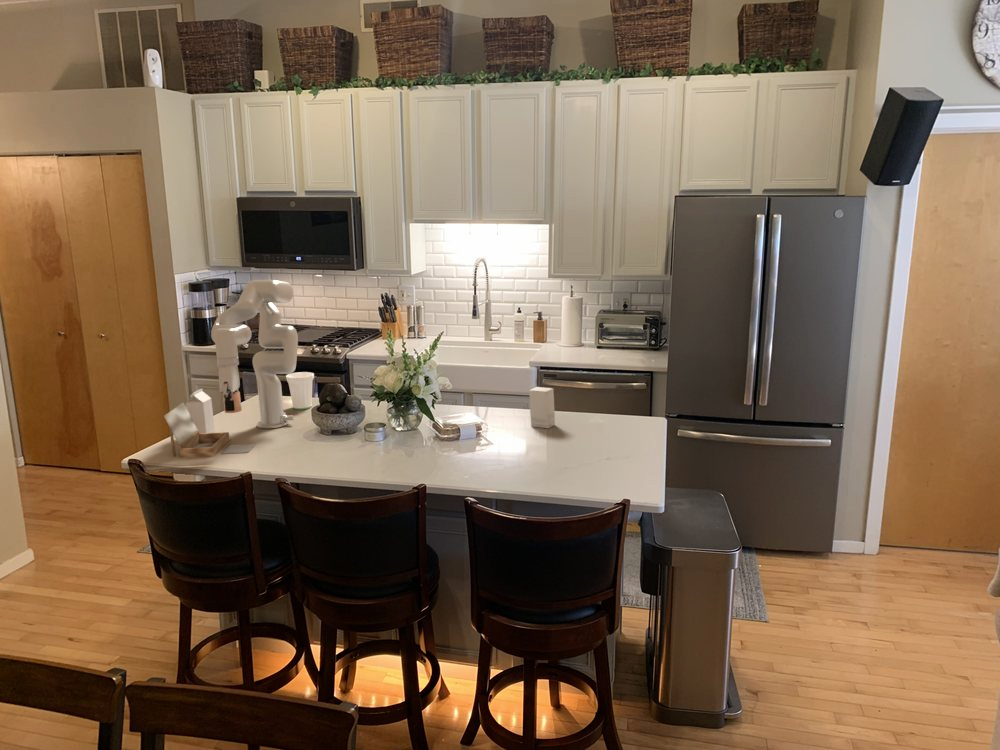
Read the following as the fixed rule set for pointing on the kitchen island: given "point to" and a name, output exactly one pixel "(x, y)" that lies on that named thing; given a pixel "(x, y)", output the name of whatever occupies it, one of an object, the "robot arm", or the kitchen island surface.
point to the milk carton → (201, 411)
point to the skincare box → (542, 407)
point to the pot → (235, 402)
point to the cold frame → (192, 435)
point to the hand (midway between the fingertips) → (232, 408)
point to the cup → (301, 389)
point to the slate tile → (238, 449)
